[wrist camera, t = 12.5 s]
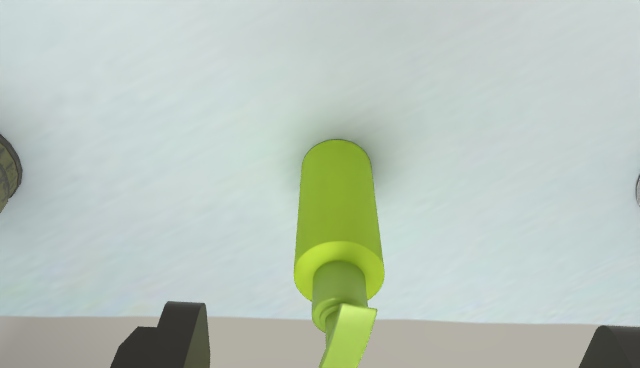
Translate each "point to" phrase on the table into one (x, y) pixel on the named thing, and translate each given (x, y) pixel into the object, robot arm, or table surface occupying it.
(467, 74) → the table surface
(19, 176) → the thermos
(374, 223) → the soap dispenser
